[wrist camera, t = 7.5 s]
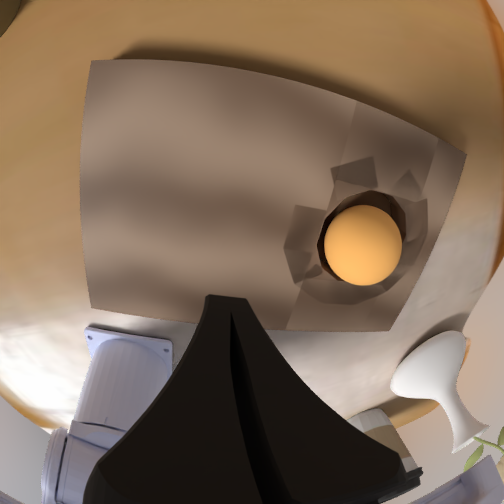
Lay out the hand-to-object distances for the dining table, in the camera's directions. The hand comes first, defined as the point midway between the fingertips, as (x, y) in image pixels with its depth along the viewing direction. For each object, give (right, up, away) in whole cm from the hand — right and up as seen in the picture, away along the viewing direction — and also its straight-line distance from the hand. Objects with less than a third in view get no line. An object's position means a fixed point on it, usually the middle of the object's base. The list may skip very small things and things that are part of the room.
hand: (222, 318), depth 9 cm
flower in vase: (+23, -10, +20) cm, 32 cm away
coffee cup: (+18, -24, +27) cm, 40 cm away
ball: (+8, +3, +7) cm, 11 cm away
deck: (+3, +5, +8) cm, 10 cm away
